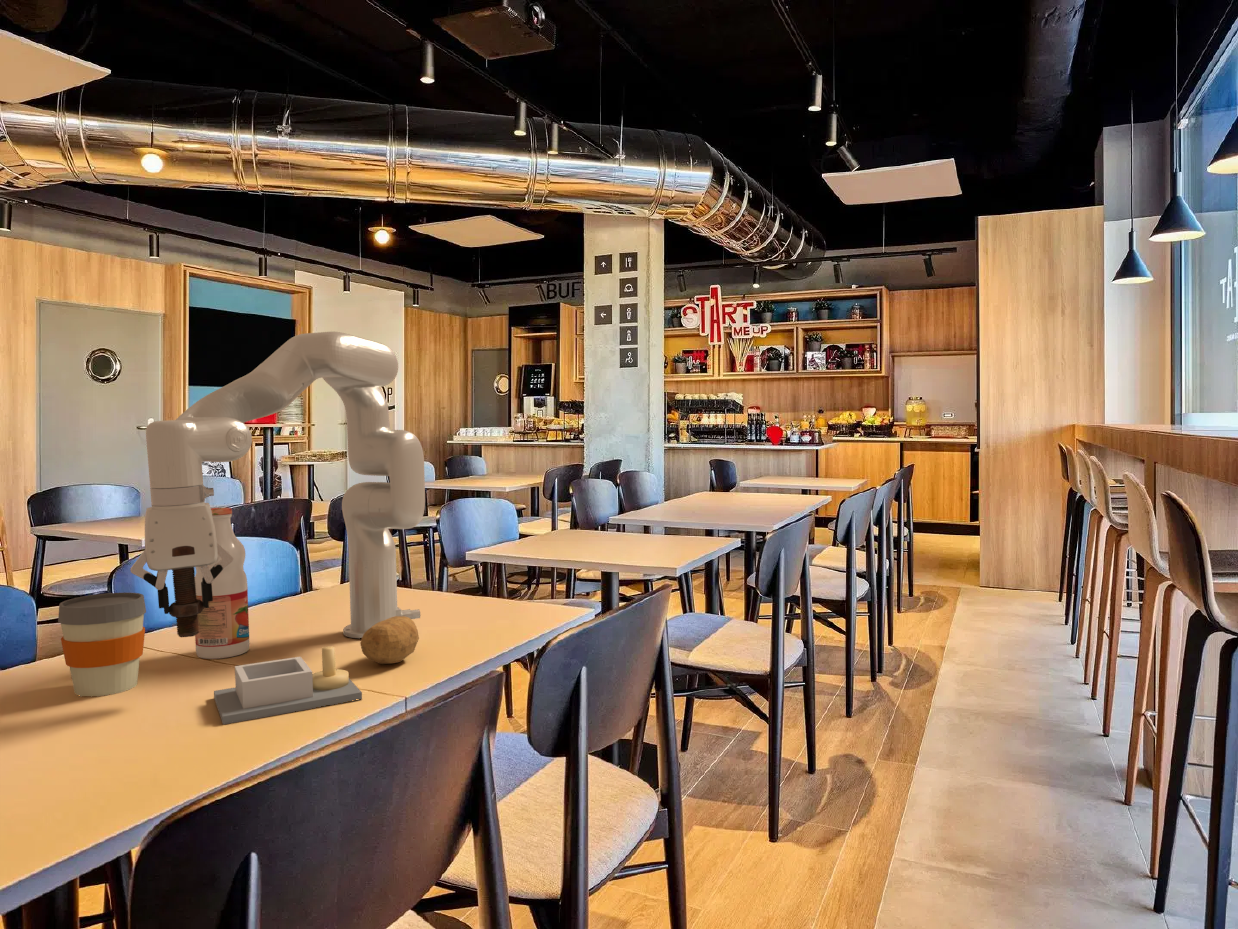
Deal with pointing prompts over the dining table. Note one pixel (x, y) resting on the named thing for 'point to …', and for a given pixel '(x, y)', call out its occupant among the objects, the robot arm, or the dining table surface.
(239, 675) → the board
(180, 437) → the robot arm
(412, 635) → the potato
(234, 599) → the fruit juice
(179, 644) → the dining table surface
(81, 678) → the reusable coffee cup
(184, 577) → the bolt
